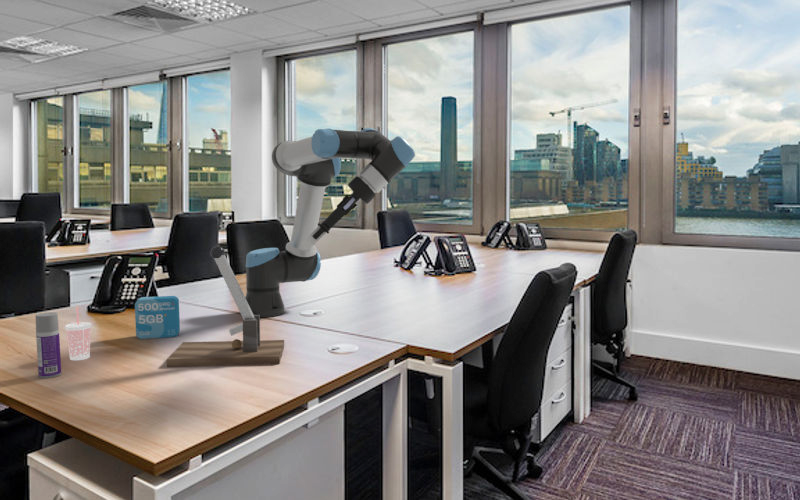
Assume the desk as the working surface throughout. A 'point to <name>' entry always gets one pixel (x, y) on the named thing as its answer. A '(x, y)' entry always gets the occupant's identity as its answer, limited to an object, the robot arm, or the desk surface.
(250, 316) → the lever
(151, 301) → the data package
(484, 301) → the desk surface
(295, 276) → the robot arm
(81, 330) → the beverage cup
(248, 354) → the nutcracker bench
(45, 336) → the container
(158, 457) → the desk surface
